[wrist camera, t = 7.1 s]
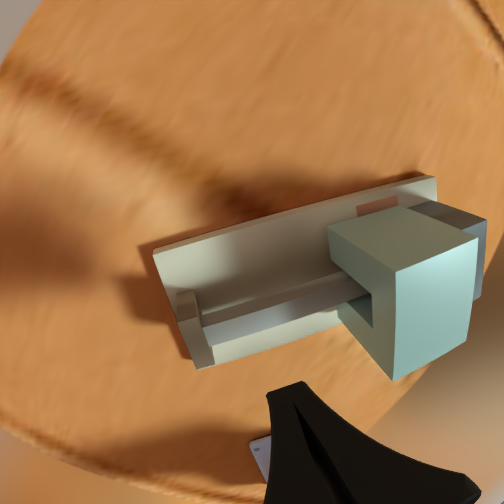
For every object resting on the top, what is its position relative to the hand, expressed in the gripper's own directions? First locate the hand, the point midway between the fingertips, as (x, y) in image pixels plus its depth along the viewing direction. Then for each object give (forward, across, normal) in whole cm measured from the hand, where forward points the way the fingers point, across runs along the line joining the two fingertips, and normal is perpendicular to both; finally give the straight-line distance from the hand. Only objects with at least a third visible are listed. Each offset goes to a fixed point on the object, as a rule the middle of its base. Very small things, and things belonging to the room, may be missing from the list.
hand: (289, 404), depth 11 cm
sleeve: (+8, -8, 0) cm, 11 cm away
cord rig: (+9, -5, 0) cm, 11 cm away
